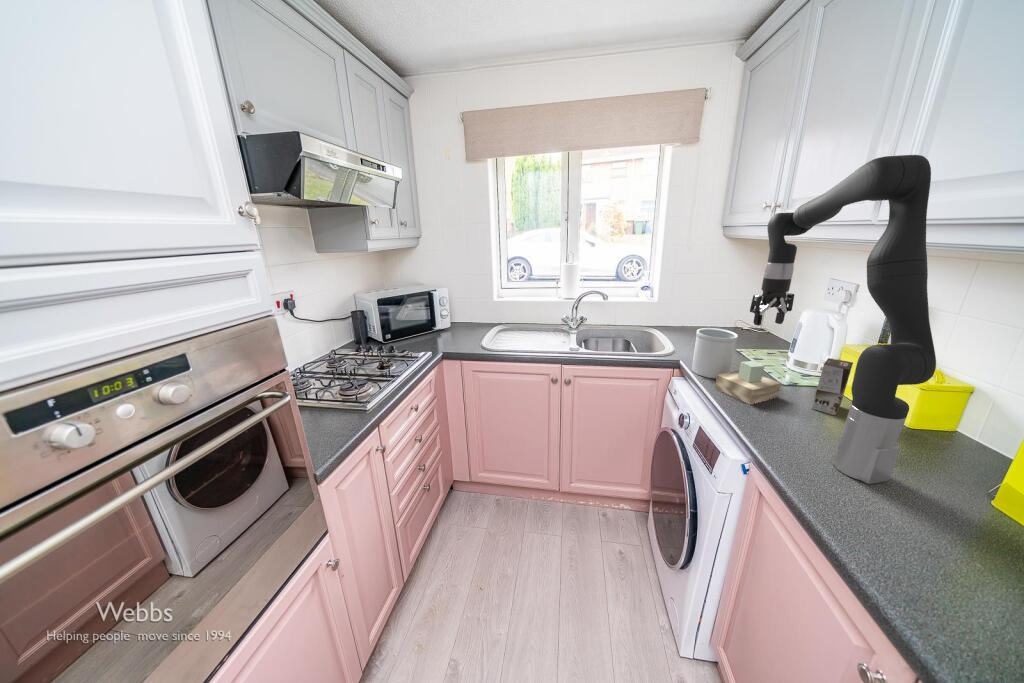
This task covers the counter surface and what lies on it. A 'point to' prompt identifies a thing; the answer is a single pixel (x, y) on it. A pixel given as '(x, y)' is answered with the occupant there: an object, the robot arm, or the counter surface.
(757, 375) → the sage block
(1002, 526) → the counter surface
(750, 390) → the birch block
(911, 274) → the robot arm
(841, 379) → the coffee box
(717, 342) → the utensil holder
